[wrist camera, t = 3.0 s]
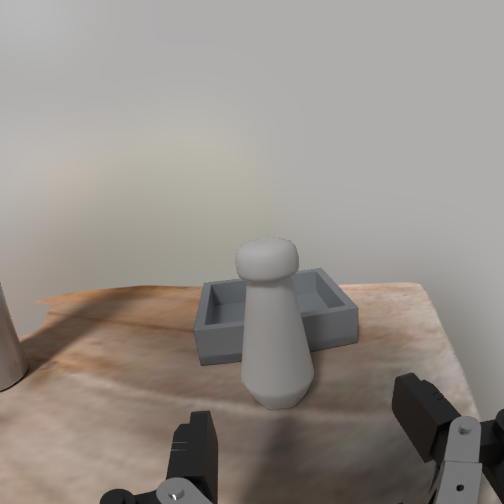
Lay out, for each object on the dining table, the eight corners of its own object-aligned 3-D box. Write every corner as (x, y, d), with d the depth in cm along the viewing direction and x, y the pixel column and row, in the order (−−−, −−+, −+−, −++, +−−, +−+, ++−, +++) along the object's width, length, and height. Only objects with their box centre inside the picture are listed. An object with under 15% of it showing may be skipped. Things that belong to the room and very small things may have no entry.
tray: (201, 365, 31) (193, 330, 30) (208, 310, 44) (204, 283, 43) (357, 342, 31) (358, 307, 30) (322, 295, 45) (321, 268, 44)
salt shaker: (236, 414, 23) (208, 254, 20) (253, 373, 28) (235, 234, 25) (310, 418, 22) (303, 249, 18) (317, 375, 27) (310, 230, 24)
